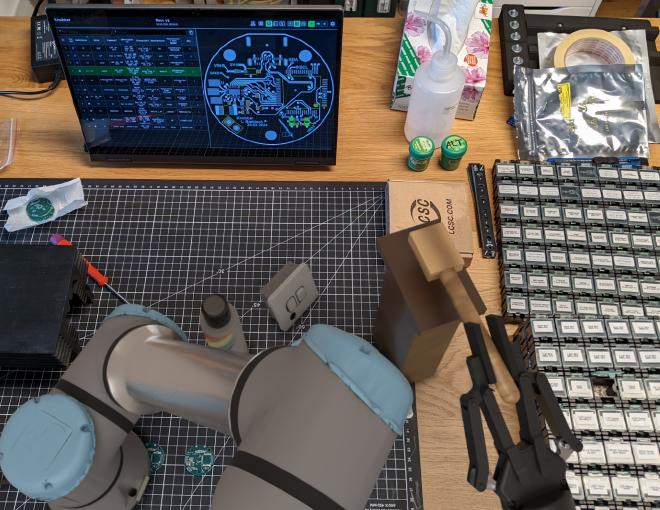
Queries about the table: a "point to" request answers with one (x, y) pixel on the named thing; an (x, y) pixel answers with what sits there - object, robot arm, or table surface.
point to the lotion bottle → (222, 324)
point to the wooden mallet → (458, 293)
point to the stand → (415, 309)
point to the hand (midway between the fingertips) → (482, 320)
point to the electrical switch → (289, 293)
